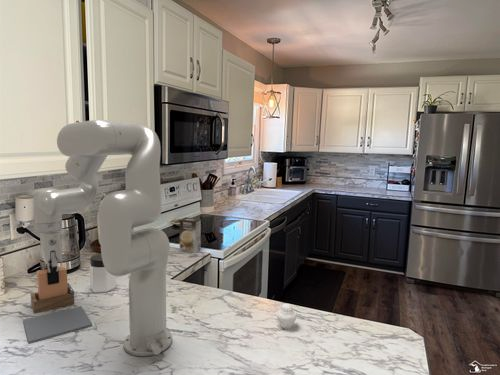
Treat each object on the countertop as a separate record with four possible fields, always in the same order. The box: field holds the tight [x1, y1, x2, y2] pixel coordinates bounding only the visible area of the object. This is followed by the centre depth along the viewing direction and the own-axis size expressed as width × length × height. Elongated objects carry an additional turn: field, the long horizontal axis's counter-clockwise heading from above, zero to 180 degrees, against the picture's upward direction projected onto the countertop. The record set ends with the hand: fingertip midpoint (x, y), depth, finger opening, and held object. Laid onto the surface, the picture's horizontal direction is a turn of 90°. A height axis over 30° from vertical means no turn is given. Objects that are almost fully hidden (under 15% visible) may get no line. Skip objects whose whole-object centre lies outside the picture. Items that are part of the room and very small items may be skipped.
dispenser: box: [30, 282, 75, 314], centre depth 117 cm, size 8×12×5 cm
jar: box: [88, 253, 117, 294], centre depth 129 cm, size 9×8×12 cm
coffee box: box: [179, 216, 202, 254], centre depth 176 cm, size 9×6×16 cm
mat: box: [22, 305, 93, 344], centre depth 104 cm, size 14×16×1 cm
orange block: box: [36, 265, 68, 300], centre depth 116 cm, size 4×8×10 cm, turn 127°
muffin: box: [275, 303, 298, 330], centre depth 106 cm, size 6×6×7 cm
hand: (52, 280), depth 116 cm, fingers closed on orange block, 4 cm apart
